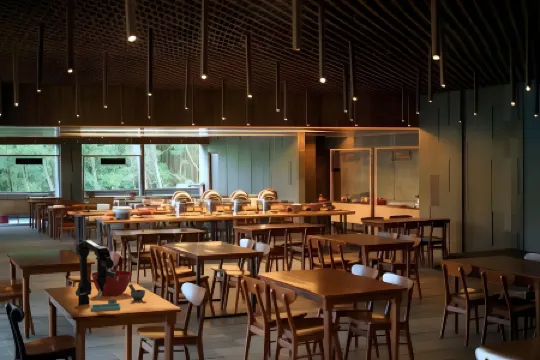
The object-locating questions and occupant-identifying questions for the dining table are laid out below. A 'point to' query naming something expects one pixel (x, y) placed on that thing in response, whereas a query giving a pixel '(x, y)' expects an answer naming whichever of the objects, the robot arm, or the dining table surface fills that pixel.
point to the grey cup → (112, 301)
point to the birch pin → (99, 294)
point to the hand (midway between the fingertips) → (102, 291)
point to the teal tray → (105, 307)
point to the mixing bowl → (114, 283)
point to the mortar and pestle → (136, 293)
